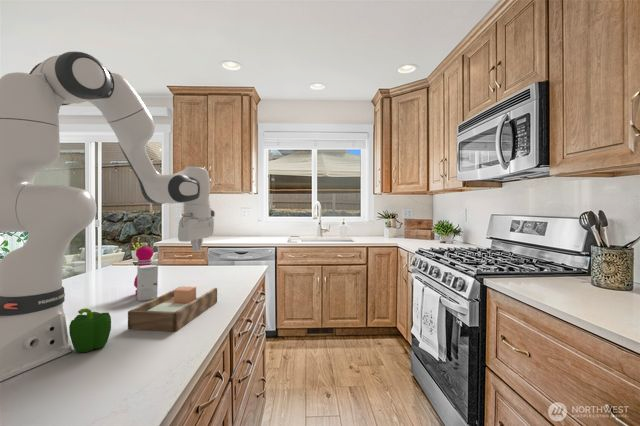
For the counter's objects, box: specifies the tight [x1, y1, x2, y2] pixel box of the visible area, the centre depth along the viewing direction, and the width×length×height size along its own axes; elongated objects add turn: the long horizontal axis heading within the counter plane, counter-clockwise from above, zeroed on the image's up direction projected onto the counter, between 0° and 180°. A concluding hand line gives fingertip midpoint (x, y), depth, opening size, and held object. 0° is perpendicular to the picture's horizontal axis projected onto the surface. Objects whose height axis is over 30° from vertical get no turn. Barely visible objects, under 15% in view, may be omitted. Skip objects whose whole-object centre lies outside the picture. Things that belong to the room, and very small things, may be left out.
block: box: [173, 285, 197, 303], centre depth 108 cm, size 5×5×4 cm
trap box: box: [127, 286, 218, 332], centre depth 103 cm, size 28×14×5 cm, turn 175°
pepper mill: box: [133, 242, 154, 296], centre depth 126 cm, size 7×7×20 cm
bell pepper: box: [68, 307, 112, 353], centre depth 78 cm, size 8×8×10 cm
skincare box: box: [136, 264, 159, 302], centre depth 120 cm, size 6×4×12 cm
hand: (196, 251), depth 116 cm, fingers closed
